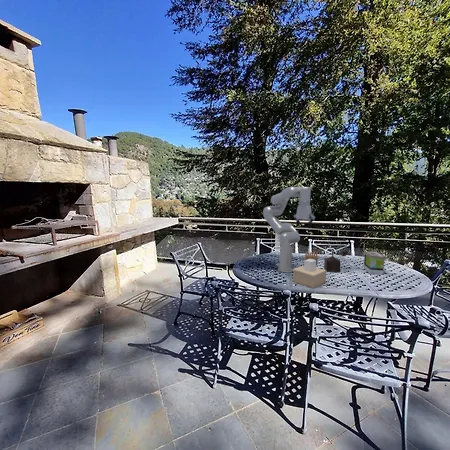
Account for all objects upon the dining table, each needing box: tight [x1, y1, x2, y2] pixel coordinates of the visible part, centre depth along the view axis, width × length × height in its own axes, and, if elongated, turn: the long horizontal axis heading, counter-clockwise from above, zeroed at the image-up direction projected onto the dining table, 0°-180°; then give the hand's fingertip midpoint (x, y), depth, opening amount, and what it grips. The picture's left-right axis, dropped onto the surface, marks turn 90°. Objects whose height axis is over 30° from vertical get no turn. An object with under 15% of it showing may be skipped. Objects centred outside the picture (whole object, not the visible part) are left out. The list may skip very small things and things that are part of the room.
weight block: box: [303, 259, 317, 272], centre depth 176 cm, size 5×7×7 cm
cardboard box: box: [292, 271, 327, 289], centre depth 177 cm, size 16×16×8 cm
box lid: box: [292, 264, 327, 277], centre depth 177 cm, size 16×17×1 cm
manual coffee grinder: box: [323, 250, 349, 273], centre depth 203 cm, size 16×11×18 cm
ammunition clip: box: [304, 251, 318, 266], centre depth 220 cm, size 11×2×12 cm, turn 83°
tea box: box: [363, 251, 386, 276], centre depth 200 cm, size 15×10×15 cm, turn 168°
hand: (303, 227), depth 184 cm, fingers open, 9 cm apart
